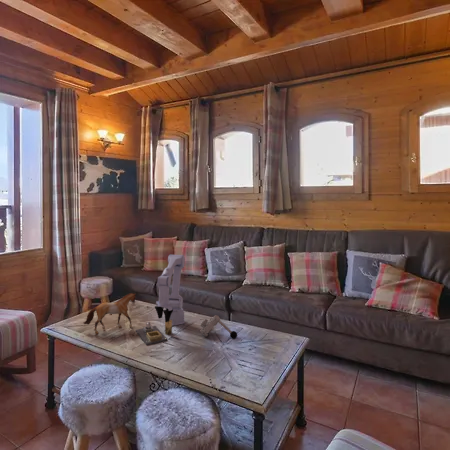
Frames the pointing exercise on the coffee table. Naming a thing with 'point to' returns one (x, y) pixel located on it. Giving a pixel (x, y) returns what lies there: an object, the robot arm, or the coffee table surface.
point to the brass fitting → (168, 327)
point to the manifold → (151, 334)
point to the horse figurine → (111, 310)
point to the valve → (213, 321)
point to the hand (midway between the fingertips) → (163, 319)
